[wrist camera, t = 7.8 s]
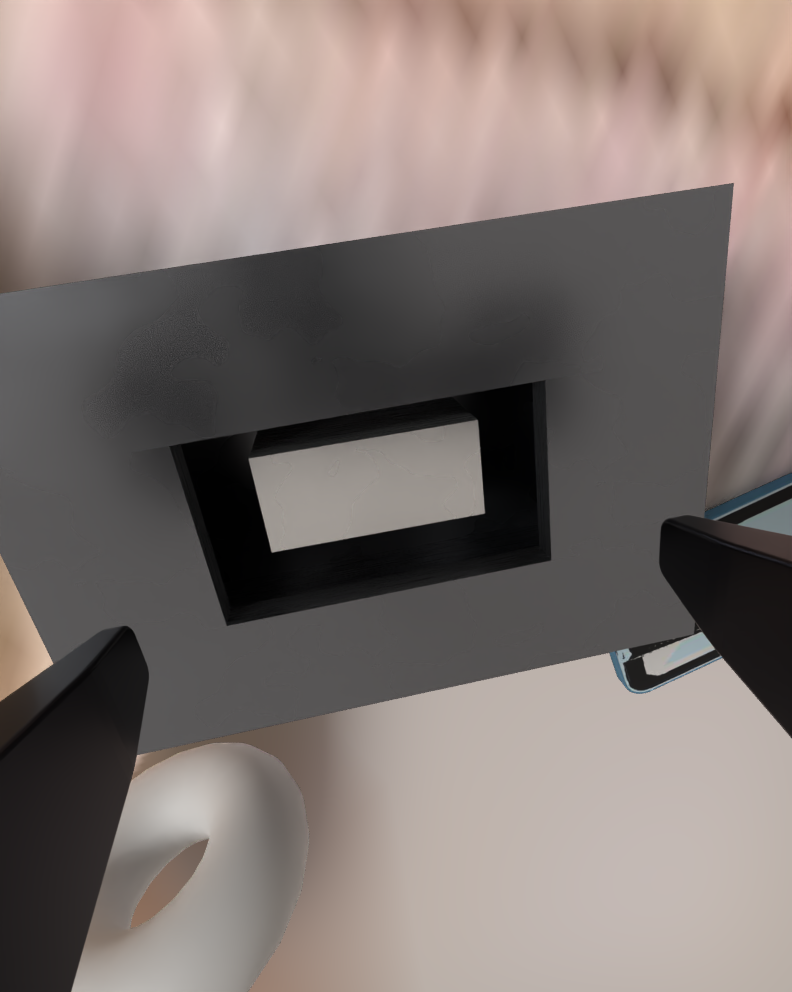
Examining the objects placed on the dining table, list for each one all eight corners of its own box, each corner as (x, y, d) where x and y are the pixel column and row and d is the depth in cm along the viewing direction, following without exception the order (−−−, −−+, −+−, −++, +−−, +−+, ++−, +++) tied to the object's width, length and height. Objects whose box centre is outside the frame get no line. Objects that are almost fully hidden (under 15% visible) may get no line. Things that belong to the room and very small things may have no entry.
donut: (288, 685, 23) (272, 970, 13) (323, 741, 24) (331, 1034, 15) (64, 778, 23) (-102, 1123, 14) (112, 829, 24) (-10, 1172, 15)
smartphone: (935, 559, 25) (630, 702, 25) (913, 549, 25) (618, 687, 26) (935, 412, 22) (588, 575, 22) (909, 407, 23) (576, 563, 23)
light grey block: (281, 482, 18) (272, 552, 14) (264, 409, 17) (248, 458, 13) (442, 454, 19) (485, 513, 14) (434, 381, 18) (477, 420, 13)
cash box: (167, 608, 20) (101, 762, 14) (52, 295, 16) (-118, 311, 10) (580, 526, 22) (693, 634, 15) (576, 215, 17) (733, 182, 11)
